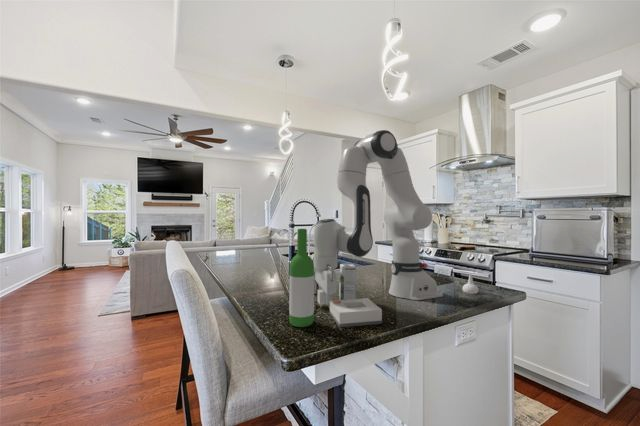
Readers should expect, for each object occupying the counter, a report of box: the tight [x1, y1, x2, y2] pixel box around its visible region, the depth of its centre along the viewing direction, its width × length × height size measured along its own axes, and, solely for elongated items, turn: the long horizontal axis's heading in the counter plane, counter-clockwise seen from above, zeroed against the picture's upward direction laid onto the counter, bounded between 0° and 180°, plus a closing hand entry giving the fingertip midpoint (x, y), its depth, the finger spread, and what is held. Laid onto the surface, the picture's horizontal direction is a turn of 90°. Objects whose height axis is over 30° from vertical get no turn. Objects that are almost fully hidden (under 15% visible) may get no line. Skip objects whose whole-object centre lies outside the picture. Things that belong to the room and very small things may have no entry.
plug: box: [316, 289, 334, 309], centre depth 106 cm, size 5×4×6 cm
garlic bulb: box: [462, 274, 479, 295], centre depth 126 cm, size 6×6×8 cm
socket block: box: [329, 297, 383, 328], centre depth 95 cm, size 14×12×5 cm
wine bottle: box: [288, 228, 315, 328], centre depth 90 cm, size 8×8×30 cm
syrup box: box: [338, 263, 357, 300], centre depth 112 cm, size 6×6×14 cm
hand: (325, 299), depth 106 cm, fingers open, 8 cm apart
